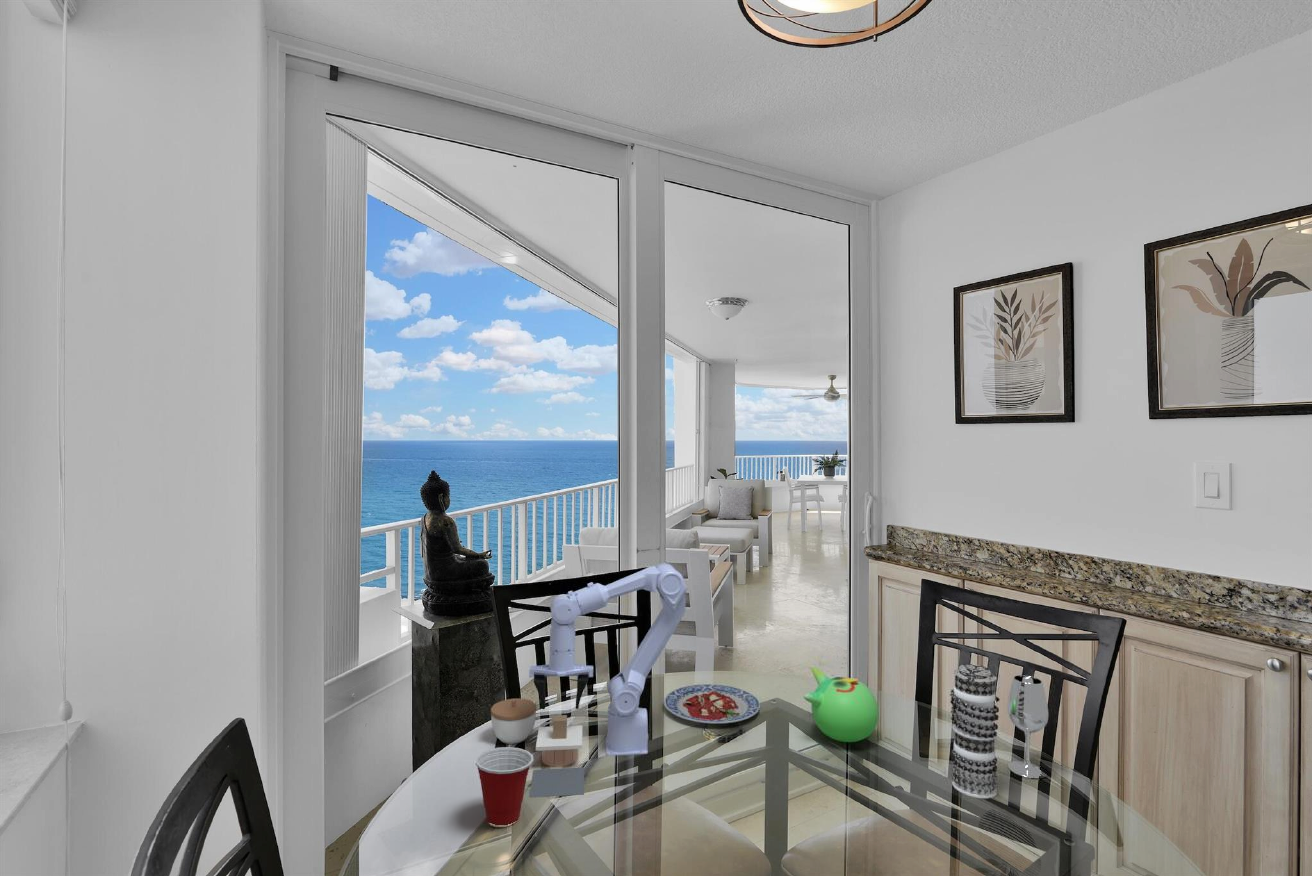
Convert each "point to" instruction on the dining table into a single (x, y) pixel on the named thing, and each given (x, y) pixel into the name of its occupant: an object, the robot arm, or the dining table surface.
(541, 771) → the mat
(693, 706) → the ceramic plate
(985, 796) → the decorative candle
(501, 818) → the plastic cup
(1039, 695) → the wineglass
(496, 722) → the lidded jar
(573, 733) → the lid
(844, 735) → the toy bird
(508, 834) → the dining table surface
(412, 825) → the dining table surface
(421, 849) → the dining table surface
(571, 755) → the bowl
